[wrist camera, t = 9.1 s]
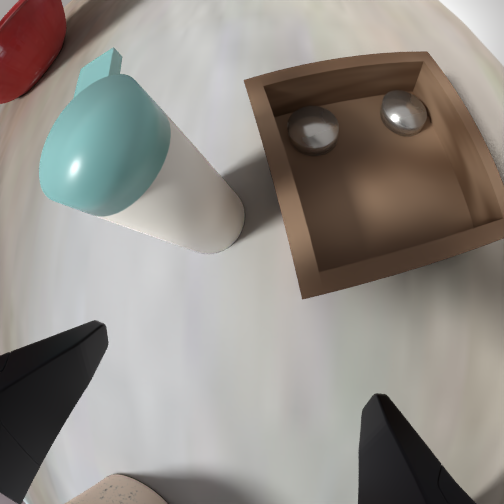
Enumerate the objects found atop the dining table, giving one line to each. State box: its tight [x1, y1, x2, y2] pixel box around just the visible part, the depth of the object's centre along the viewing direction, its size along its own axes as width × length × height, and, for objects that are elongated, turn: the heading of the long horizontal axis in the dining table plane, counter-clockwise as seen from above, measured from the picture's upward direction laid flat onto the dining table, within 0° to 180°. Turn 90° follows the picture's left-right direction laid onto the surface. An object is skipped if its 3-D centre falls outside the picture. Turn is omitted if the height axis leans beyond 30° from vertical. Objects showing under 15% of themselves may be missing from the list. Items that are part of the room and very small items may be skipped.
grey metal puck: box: [287, 106, 339, 156], centre depth 16 cm, size 3×3×1 cm
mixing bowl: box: [0, 0, 66, 104], centre depth 25 cm, size 28×28×16 cm
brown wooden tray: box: [244, 52, 504, 299], centre depth 15 cm, size 13×13×4 cm
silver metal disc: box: [380, 90, 427, 137], centre depth 15 cm, size 3×3×1 cm
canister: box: [39, 48, 245, 254], centre depth 13 cm, size 7×5×12 cm
